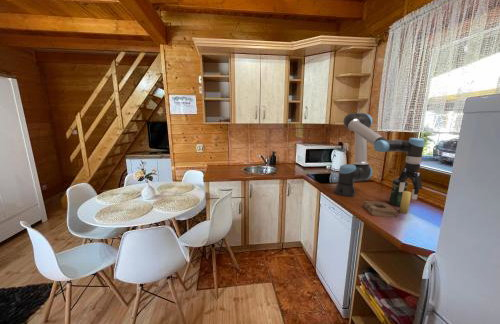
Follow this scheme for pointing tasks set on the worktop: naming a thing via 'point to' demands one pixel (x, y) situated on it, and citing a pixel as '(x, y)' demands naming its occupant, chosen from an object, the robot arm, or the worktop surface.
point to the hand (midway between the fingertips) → (407, 195)
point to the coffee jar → (397, 192)
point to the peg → (405, 202)
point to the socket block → (380, 209)
